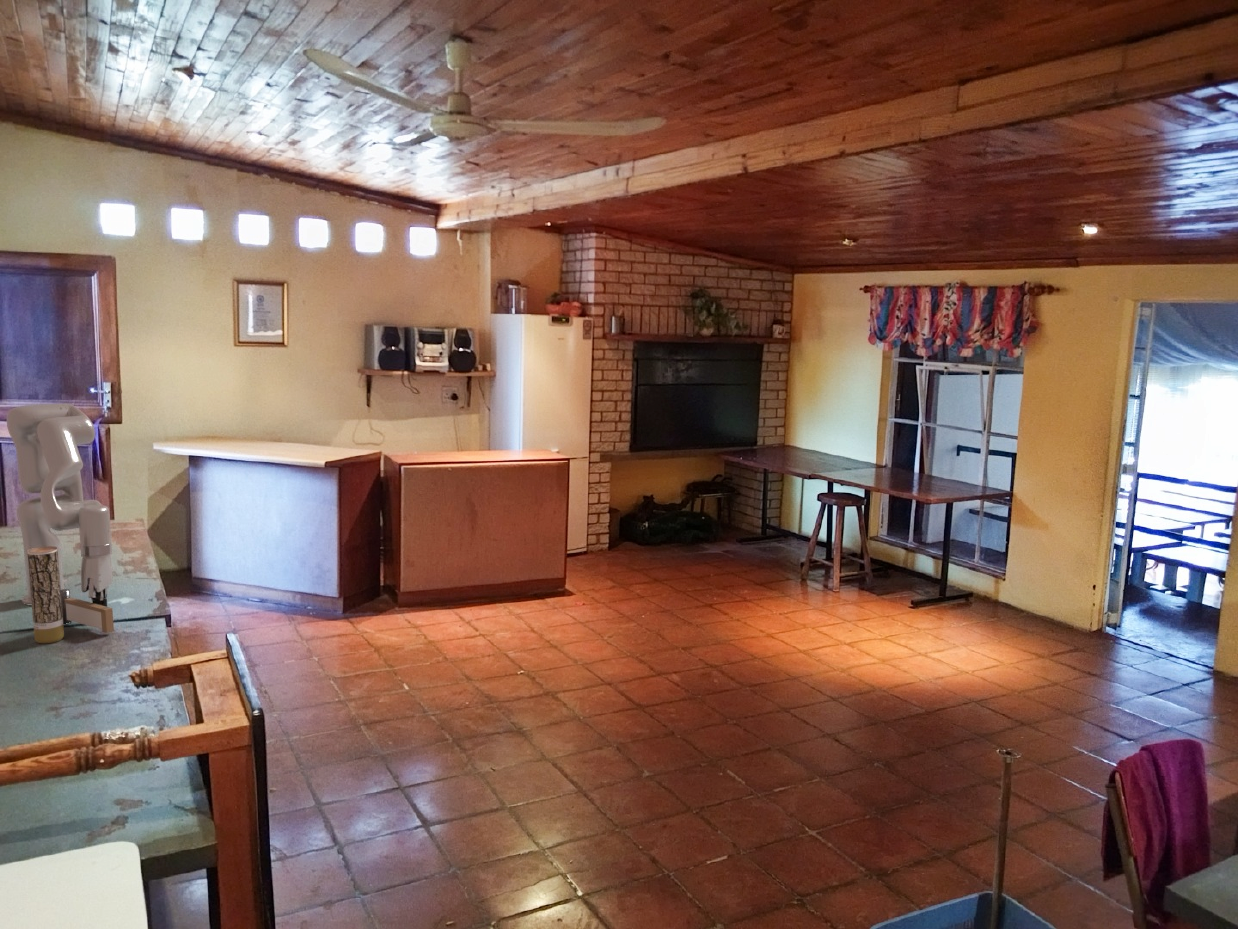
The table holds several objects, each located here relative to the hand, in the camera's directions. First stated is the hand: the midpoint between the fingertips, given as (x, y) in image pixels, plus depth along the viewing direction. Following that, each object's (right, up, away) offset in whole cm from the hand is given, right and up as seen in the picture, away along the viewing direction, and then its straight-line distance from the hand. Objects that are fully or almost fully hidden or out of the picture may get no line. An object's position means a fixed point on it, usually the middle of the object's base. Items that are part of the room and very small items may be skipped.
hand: (100, 612), depth 260 cm
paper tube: (-7, -6, -11) cm, 14 cm away
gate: (-1, -3, -3) cm, 5 cm away
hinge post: (-11, -3, +2) cm, 12 cm away
